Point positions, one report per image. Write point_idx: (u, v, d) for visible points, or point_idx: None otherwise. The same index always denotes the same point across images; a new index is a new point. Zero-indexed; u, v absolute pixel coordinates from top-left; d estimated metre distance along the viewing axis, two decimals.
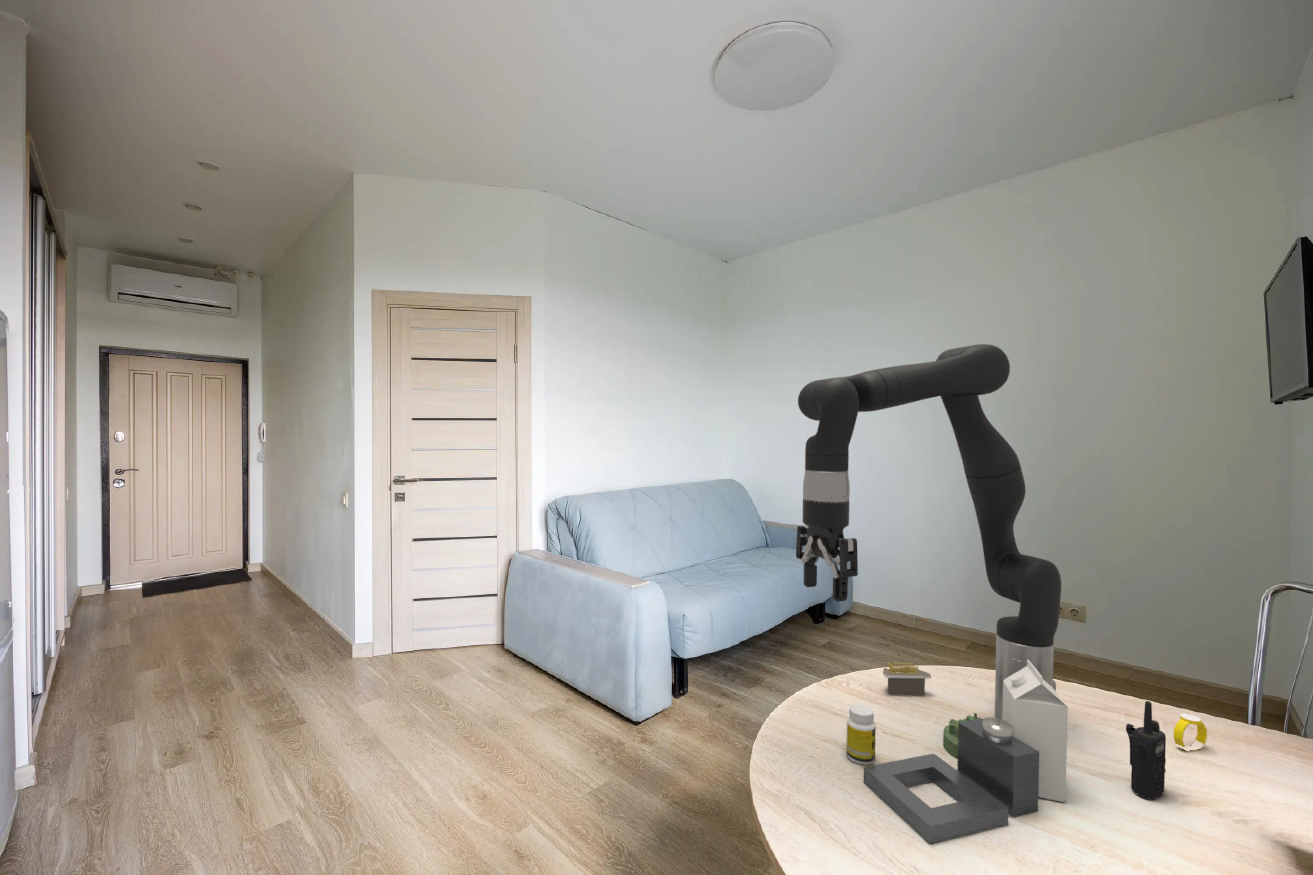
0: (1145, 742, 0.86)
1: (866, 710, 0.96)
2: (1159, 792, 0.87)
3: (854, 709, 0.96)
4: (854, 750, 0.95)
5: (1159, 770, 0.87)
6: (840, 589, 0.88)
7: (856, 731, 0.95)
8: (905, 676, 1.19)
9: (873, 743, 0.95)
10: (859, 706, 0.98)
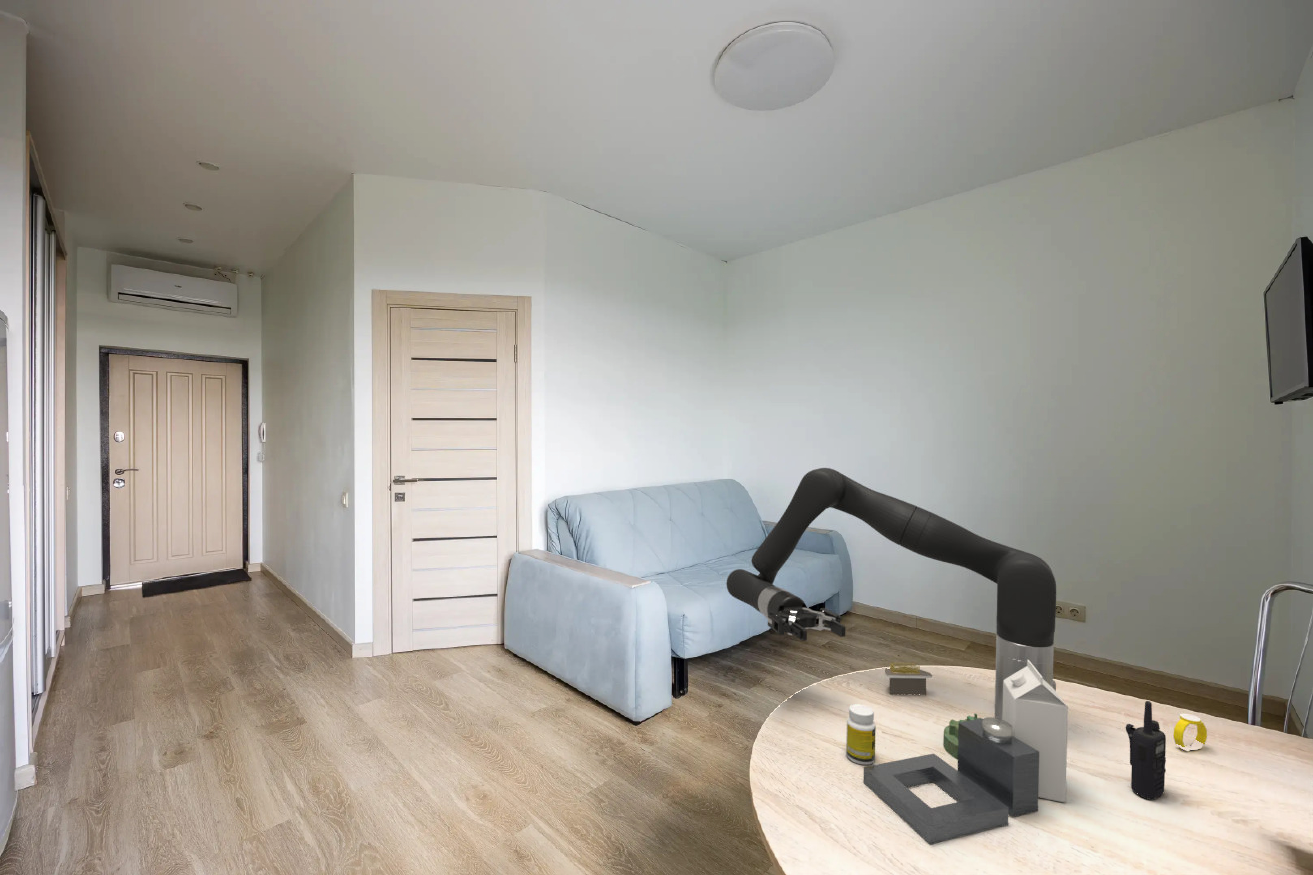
0: (1145, 742, 0.86)
1: (866, 710, 0.96)
2: (1159, 792, 0.87)
3: (854, 709, 0.96)
4: (854, 750, 0.95)
5: (1159, 770, 0.87)
6: (794, 635, 1.07)
7: (856, 731, 0.95)
8: (907, 676, 1.19)
9: (873, 743, 0.95)
10: (859, 706, 0.98)
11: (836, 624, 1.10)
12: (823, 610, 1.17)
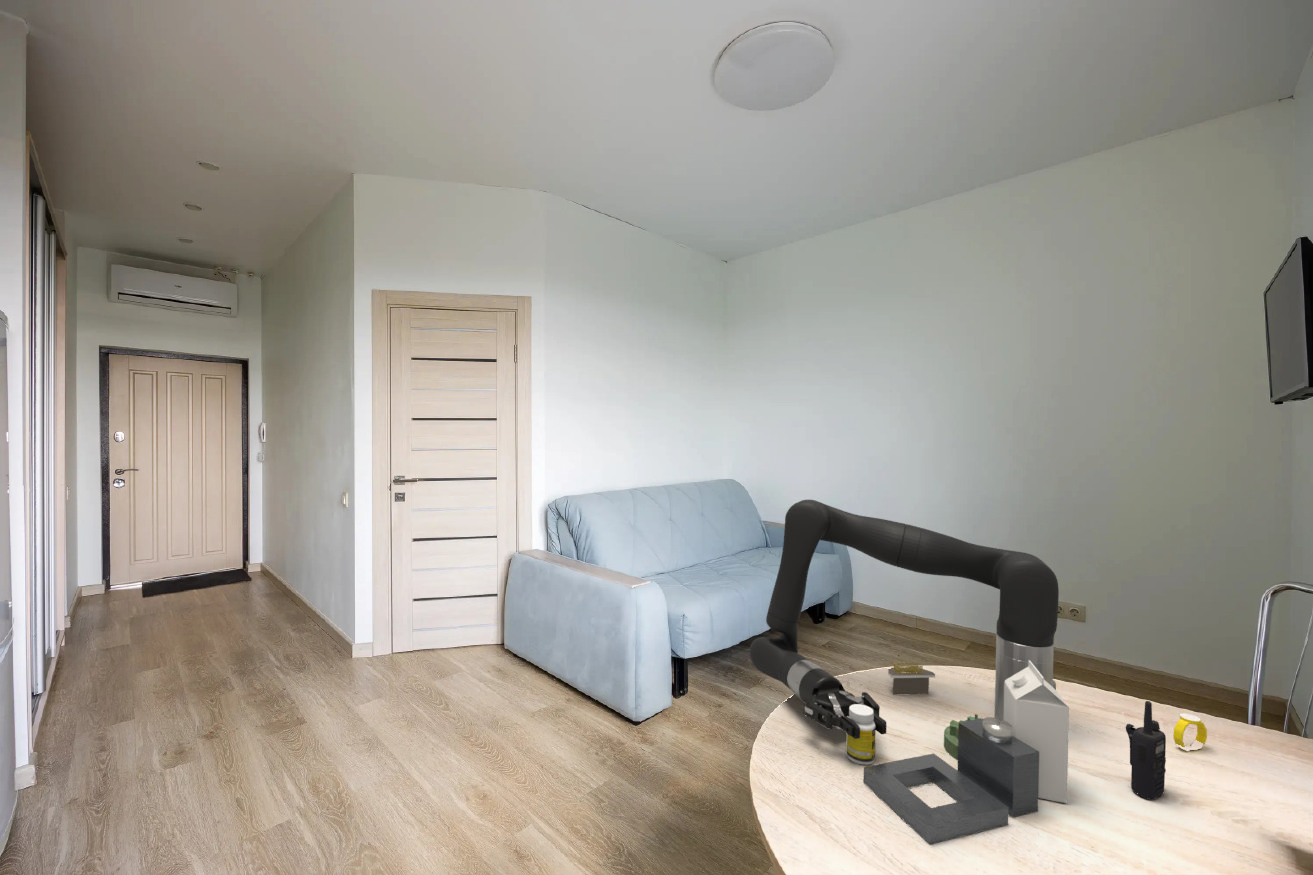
0: (1145, 742, 0.86)
1: (865, 710, 0.96)
2: (1159, 792, 0.87)
3: (854, 709, 0.96)
4: (854, 750, 0.95)
5: (1159, 770, 0.87)
6: (845, 731, 0.95)
7: None
8: (910, 676, 1.19)
9: (873, 742, 0.95)
10: (859, 705, 0.98)
11: (875, 718, 0.96)
12: (864, 695, 1.04)
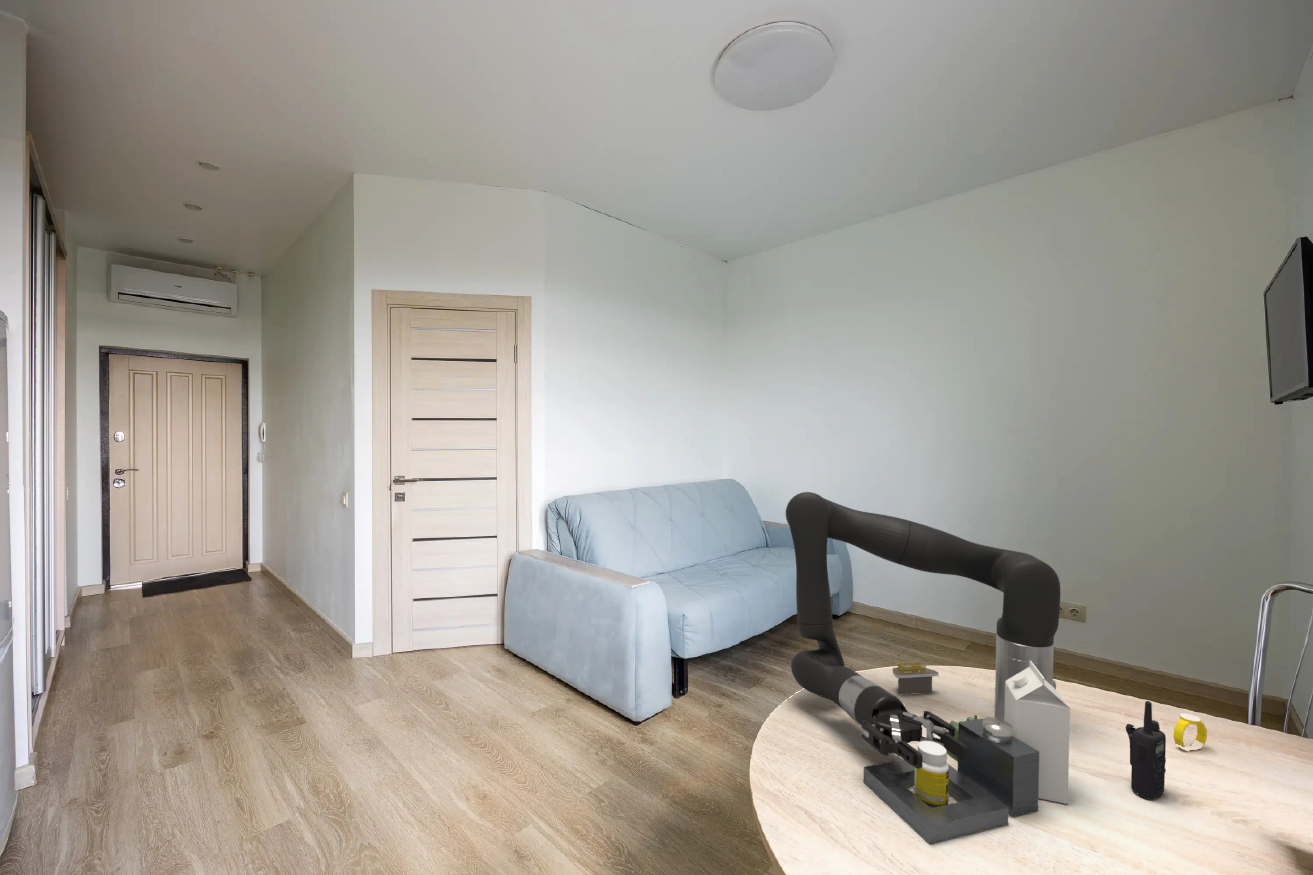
0: (1145, 742, 0.86)
1: (937, 749, 0.85)
2: (1159, 792, 0.87)
3: (924, 747, 0.85)
4: (926, 795, 0.83)
5: (1159, 770, 0.87)
6: (904, 759, 0.83)
7: (928, 773, 0.83)
8: (915, 675, 1.20)
9: (947, 786, 0.83)
10: (929, 743, 0.86)
11: (953, 741, 0.86)
12: (928, 714, 0.93)
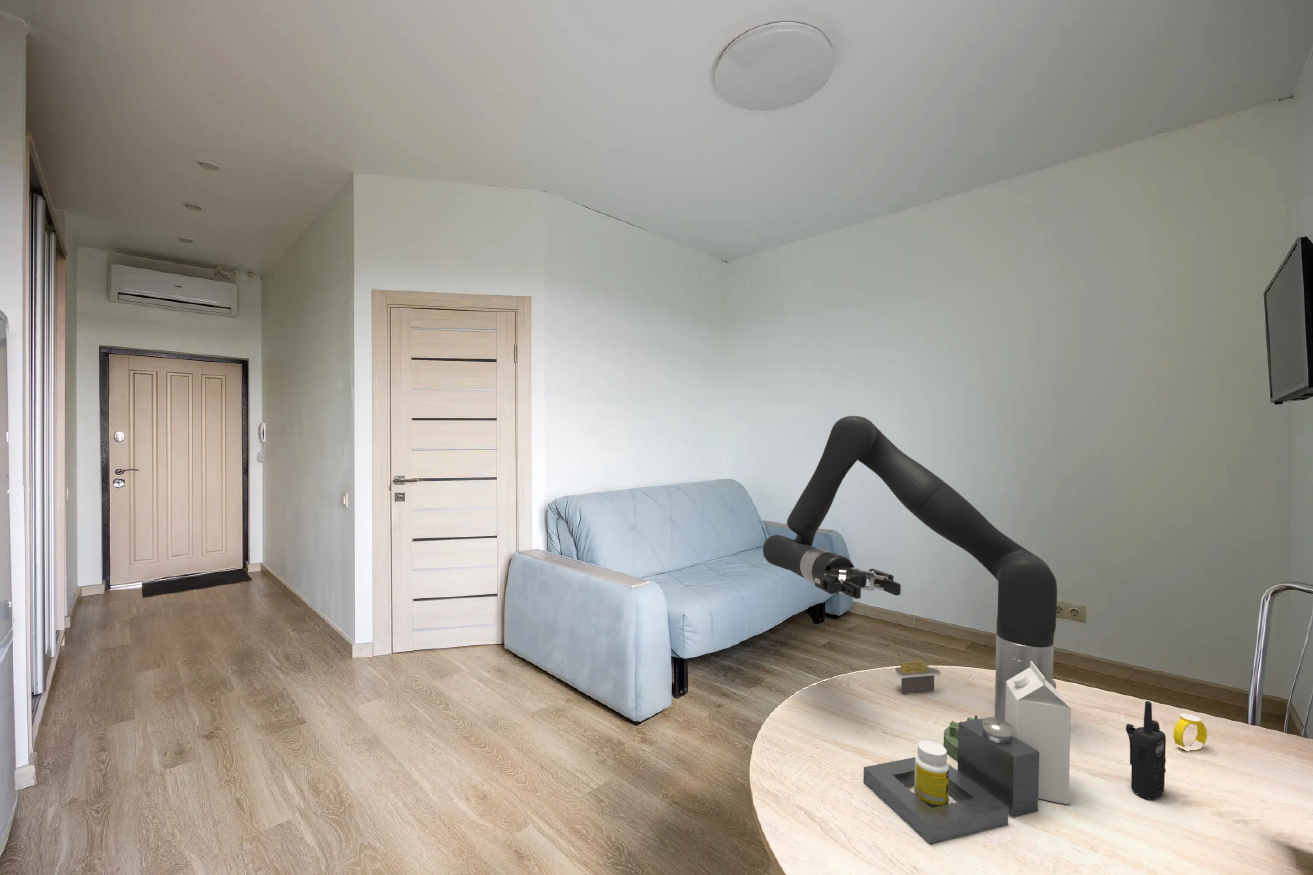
0: (1145, 742, 0.86)
1: (937, 749, 0.85)
2: (1159, 792, 0.87)
3: (924, 747, 0.85)
4: (926, 795, 0.83)
5: (1159, 770, 0.87)
6: (847, 593, 1.00)
7: (928, 773, 0.83)
8: (918, 675, 1.20)
9: (947, 786, 0.83)
10: (929, 743, 0.86)
11: (890, 582, 1.03)
12: (873, 570, 1.10)
